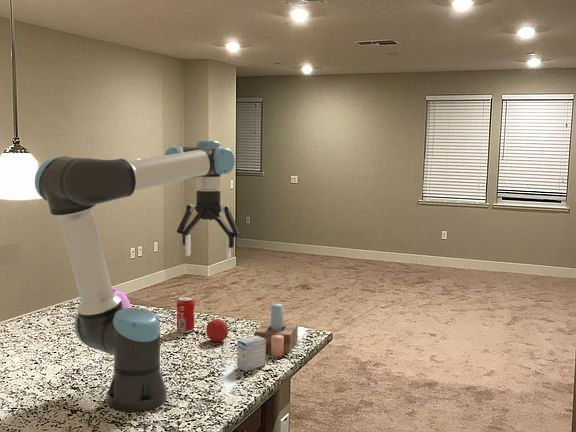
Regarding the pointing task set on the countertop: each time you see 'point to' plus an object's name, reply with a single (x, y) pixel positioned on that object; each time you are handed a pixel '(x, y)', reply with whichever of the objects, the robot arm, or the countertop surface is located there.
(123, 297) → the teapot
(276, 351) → the short pin
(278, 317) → the long pin
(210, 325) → the tomato
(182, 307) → the beverage can
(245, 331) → the countertop surface
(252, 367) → the medicine box
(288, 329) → the hole block
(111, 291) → the robot arm
